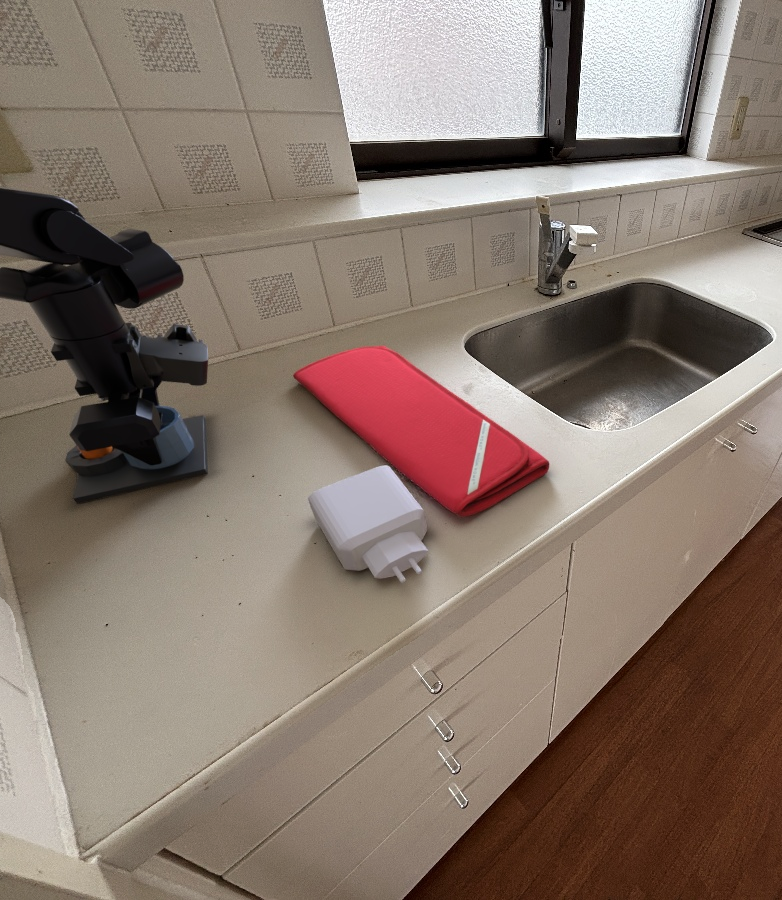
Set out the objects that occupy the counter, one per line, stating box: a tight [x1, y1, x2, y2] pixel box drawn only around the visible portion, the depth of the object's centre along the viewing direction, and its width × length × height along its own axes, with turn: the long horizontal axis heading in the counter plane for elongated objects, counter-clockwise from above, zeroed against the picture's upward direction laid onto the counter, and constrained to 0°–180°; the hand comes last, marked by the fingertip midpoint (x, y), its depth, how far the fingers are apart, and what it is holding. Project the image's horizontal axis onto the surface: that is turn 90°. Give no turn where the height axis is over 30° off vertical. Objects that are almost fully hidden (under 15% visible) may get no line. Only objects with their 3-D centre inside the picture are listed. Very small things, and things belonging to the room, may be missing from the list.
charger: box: [307, 465, 429, 584], centre depth 54 cm, size 5×9×15 cm
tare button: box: [77, 446, 113, 459], centre depth 58 cm, size 3×3×2 cm
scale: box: [64, 414, 209, 505], centre depth 61 cm, size 12×12×2 cm
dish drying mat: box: [292, 345, 550, 517], centre depth 71 cm, size 16×41×4 cm, turn 49°
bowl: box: [121, 405, 194, 469], centre depth 59 cm, size 6×6×5 cm
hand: (157, 446), depth 59 cm, fingers closed on bowl, 6 cm apart
